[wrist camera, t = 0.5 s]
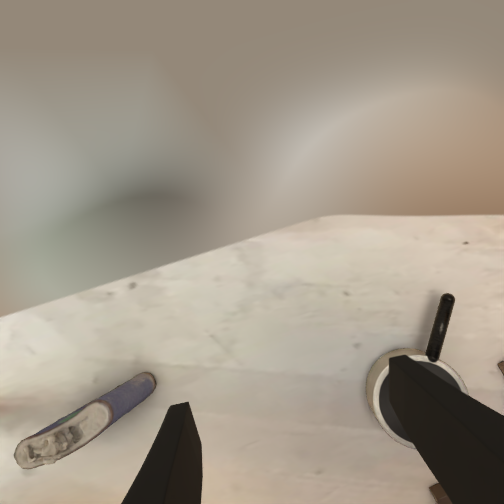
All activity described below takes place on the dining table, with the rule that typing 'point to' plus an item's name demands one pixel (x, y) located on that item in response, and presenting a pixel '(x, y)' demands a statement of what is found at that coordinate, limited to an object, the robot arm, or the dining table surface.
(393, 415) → the steel pan
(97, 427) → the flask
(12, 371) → the dining table surface
